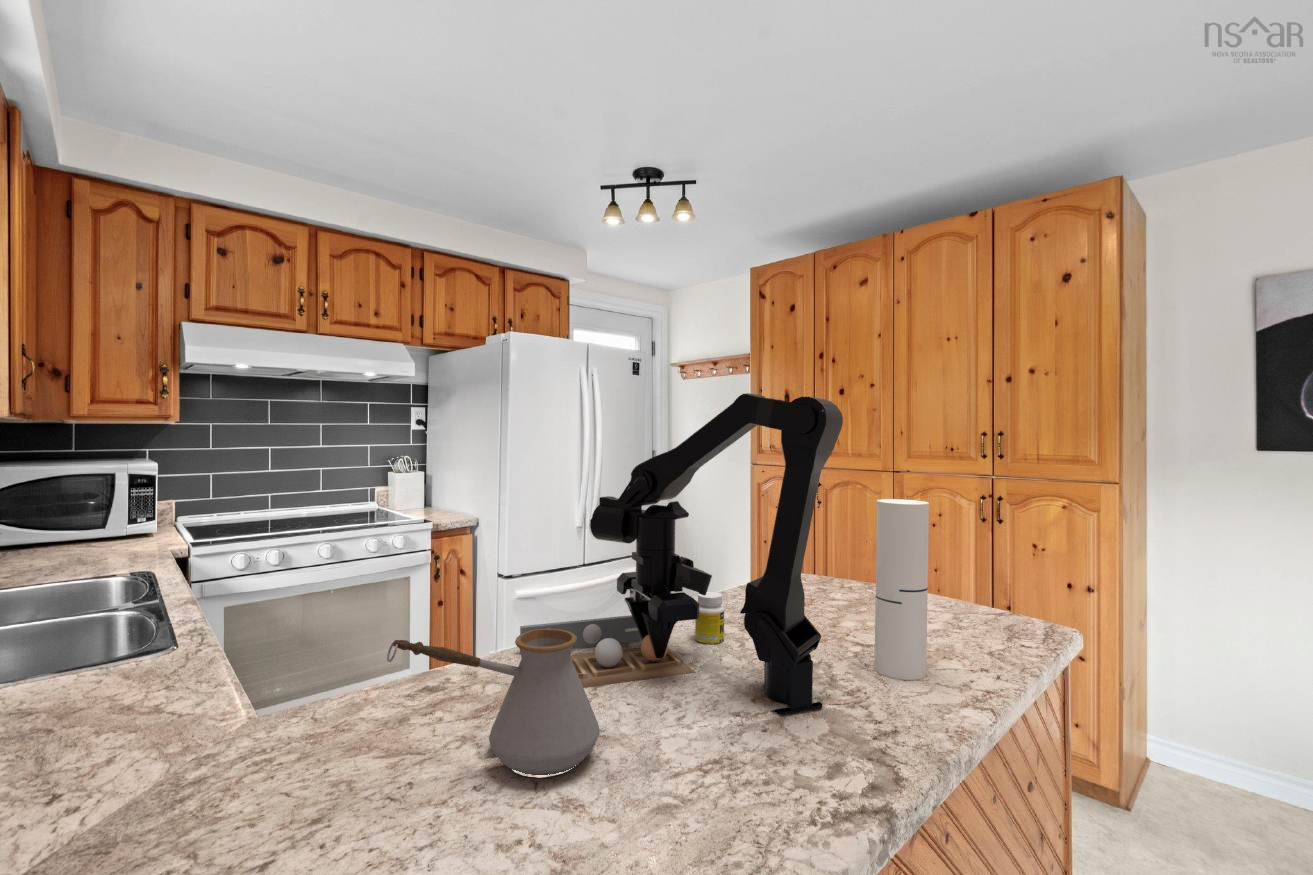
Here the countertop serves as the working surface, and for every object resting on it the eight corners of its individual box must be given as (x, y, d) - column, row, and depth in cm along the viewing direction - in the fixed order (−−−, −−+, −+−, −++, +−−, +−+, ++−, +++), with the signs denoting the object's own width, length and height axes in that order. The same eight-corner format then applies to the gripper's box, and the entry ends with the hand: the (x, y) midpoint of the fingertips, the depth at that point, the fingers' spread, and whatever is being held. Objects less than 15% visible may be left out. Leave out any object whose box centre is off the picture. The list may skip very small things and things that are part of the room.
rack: (695, 679, 88) (695, 667, 88) (539, 701, 80) (539, 688, 80) (663, 651, 100) (664, 641, 100) (524, 668, 92) (524, 657, 92)
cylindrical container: (931, 682, 89) (934, 505, 88) (878, 677, 90) (880, 503, 90) (920, 663, 96) (923, 500, 95) (871, 659, 97) (873, 498, 97)
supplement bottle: (725, 651, 100) (725, 598, 100) (695, 650, 100) (696, 597, 100) (722, 641, 105) (723, 590, 105) (694, 640, 105) (694, 590, 105)
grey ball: (626, 669, 89) (626, 641, 89) (598, 673, 87) (599, 644, 87) (617, 660, 93) (617, 633, 93) (591, 663, 91) (591, 636, 91)
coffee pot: (573, 724, 74) (575, 598, 74) (617, 770, 64) (619, 624, 64) (378, 771, 63) (379, 624, 63) (394, 835, 54) (396, 660, 53)
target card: (657, 645, 102) (658, 614, 102) (521, 661, 94) (521, 628, 94) (654, 643, 103) (655, 612, 103) (519, 658, 95) (520, 626, 95)
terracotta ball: (671, 663, 91) (672, 636, 91) (645, 667, 90) (646, 639, 90) (661, 654, 95) (661, 628, 95) (636, 657, 94) (637, 631, 94)
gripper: (734, 555, 87) (732, 668, 87) (680, 534, 104) (679, 628, 104) (659, 560, 83) (657, 678, 83) (616, 537, 100) (615, 635, 100)
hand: (654, 652), depth 93 cm, fingers open, 4 cm apart
